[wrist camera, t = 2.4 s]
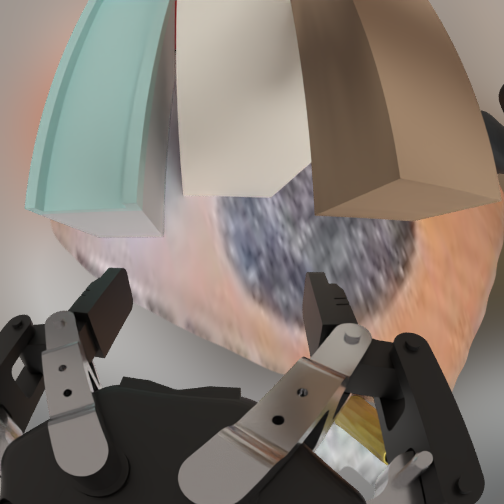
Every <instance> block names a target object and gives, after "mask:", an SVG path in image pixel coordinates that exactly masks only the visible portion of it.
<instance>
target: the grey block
mask: <svg viewBox="0 0 504 504" xmlns="http://www.w3.org/2000/svg"><path fill="white" fill-rule="evenodd" d="M174 82H175V0H174V1H173V5H172V8H171V12H170V16H169V20H168V24H167V28H166V33H165V37H164V42H163V46H162V51H161V56H160V61H159V66H158V72H157V77H156V83H155V89H154V95H153V102H152V109H151V116H150V124H149V132H148V141H147V151H146V162H145V174H144V189H143V208H142V211H108V212H81V213H59V214H41V215H42V216H44V217H47V218H49V219H52V220H54V221H57V222H60V223H62V224H65V225H67V226H70V227H72V228H75V229H78V230H80V231H83V232H86V233H88V234H91V235H94V236H96V237H99V238H112V237H164V202H165V179H166V163H167V149H168V136H169V125H170V115H171V106H172V97H173V89H174Z"/></svg>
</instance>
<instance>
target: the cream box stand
mask: <svg viewBox="0 0 504 504" xmlns="http://www.w3.org/2000/svg"><path fill="white" fill-rule="evenodd" d="M176 76H177V108H178V129H179V146H180V161H181V174H182V186H183V196H228V197H264V198H271V197H272V196H273V195H274V194H276V193H277V192H278V191H279V190H280V189H281V188H282V187H283V186H285V185H286V184H287V183H288V182H289V181H290V180H291V179H293V178H294V177H295V176H296V175H297V174H298V173H299V172H301V171H302V170H303V169H304V168H305V167H306V166H307V165H309V164H310V163H311V151H310V140H309V130H308V120H307V110H306V101H305V93H304V85H303V77H302V70H301V63H300V56H299V49H298V42H297V36H296V30H295V24H294V18H293V13H292V7H291V2H290V0H177V16H176Z"/></svg>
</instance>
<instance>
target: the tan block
mask: <svg viewBox="0 0 504 504" xmlns="http://www.w3.org/2000/svg"><path fill="white" fill-rule="evenodd" d="M290 2H291V7H292V13H293V18H294V24H295V30H296V36H297V42H298V49H299V56H300V63H301V70H302V77H303V85H304V93H305V101H306V110H307V120H308V130H309V140H310V151H311V163H312V177H313V192H314V209H315V216H337V217H356V218H374V219H390V220H404V221H416V220H421V219H425V218H429V217H434V216H438V215H443V214H447V213H451V212H456V211H460V210H465V209H469V208H473V207H478V206H482V205H486V204H491V203H495V202H499V201H502V200H501V193H500V187H499V181H498V176H497V171H496V166H495V162H494V157H493V153H492V149H491V145H490V141H489V137H488V134H487V130H486V127H485V123H484V120H483V117H482V114H481V111H480V108H479V105H478V102H477V99H476V96H475V94H474V91H473V88H472V86H471V83H470V81H469V78H468V76H467V73H466V71H465V69H464V67H463V64H462V62H461V60H460V58H459V56H458V53H457V51H456V49H455V47H454V45H453V43H452V41H451V39H450V37H449V35H448V33H447V31H446V30H445V28H444V26H443V24H442V22H441V21H440V19H439V17H438V16H437V14H436V12H435V11H434V9H433V7H432V6H431V4H430V2H429V1H428V0H290Z"/></svg>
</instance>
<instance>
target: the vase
mask: <svg viewBox="0 0 504 504" xmlns="http://www.w3.org/2000/svg"><path fill="white" fill-rule="evenodd" d="M335 423H336V424H337V425H338V426H339V427H341V428H342V429H344V430H345V431H346V432H347V433H348V434H350V435H351V436H352V437H353V438H355V439H356V440H357V441H358V442H360V443H361V444H362V445H363V446H364V447H366V448H367V449H368V450H369V451H370V452H371V453H373V454H374V455H375V456H376V457H377V458H379V459H380V460H381V461H382V462H383V463H385V464H386V465H388V462H387V456H386V451H385V446H384V442H383V437H382V432H381V428H380V423H379V419H378V414H377V410H376V409H375V408H374V407H373V406H371V405H370V404H369V403H367V402H366V401H365V400H364V399H363V398H362V397H360V396H351V397H350V398H349V400H348V401H347V403H346V404H345V406H344V407H343V409H342V411H341V412H340V414H339V415H338V417H337V418H336V420H335Z"/></svg>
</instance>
